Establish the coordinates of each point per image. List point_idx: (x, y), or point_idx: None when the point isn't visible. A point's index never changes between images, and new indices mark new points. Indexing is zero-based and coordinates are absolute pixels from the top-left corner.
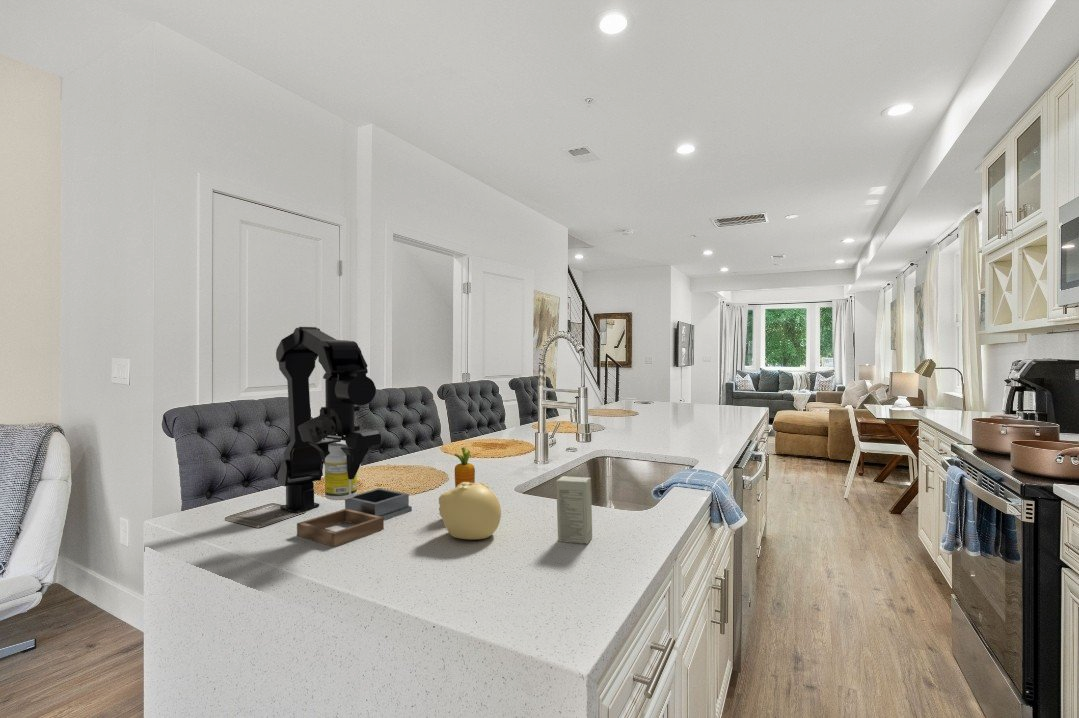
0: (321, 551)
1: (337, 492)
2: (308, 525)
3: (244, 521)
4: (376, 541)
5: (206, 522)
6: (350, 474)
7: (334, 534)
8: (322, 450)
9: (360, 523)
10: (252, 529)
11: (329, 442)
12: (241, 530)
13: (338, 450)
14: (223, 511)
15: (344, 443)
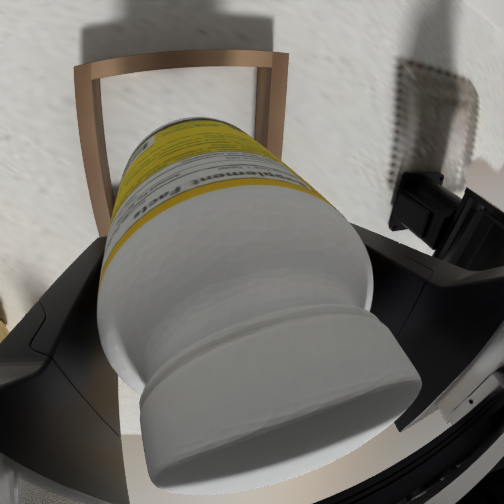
0: (88, 25)
1: (140, 147)
2: (233, 56)
3: (446, 86)
4: (37, 171)
5: (481, 61)
6: (83, 256)
7: (76, 66)
8: (445, 284)
9: (100, 176)
10: (403, 48)
11: (447, 380)
12: (415, 37)
13: (165, 386)
14: (492, 118)
15: (271, 472)
